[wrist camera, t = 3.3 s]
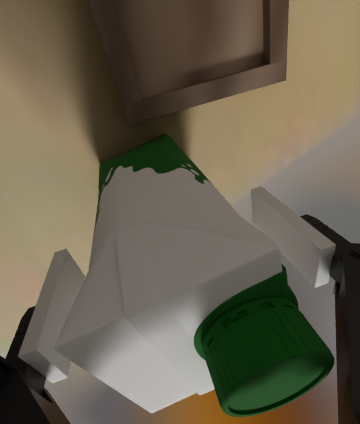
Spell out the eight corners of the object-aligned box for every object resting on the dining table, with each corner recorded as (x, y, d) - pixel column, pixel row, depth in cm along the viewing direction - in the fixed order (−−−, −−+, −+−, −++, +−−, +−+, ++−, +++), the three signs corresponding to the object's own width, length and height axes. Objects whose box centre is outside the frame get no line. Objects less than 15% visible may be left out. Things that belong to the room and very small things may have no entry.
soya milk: (199, 194, 26) (340, 398, 10) (127, 226, 26) (148, 487, 10) (171, 119, 22) (358, 274, 5) (83, 159, 22) (-23, 450, 5)
